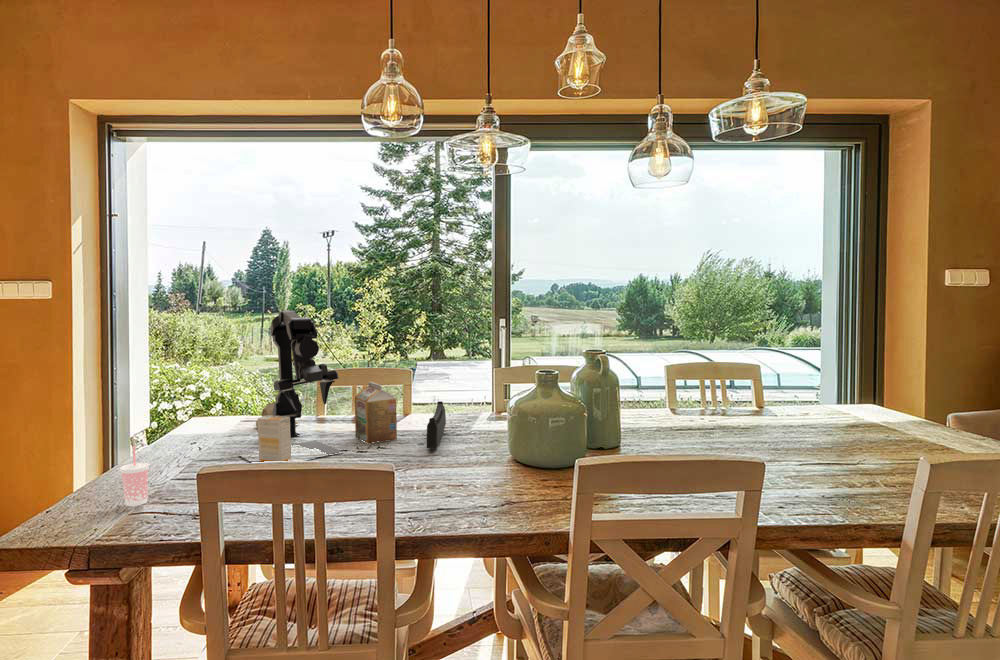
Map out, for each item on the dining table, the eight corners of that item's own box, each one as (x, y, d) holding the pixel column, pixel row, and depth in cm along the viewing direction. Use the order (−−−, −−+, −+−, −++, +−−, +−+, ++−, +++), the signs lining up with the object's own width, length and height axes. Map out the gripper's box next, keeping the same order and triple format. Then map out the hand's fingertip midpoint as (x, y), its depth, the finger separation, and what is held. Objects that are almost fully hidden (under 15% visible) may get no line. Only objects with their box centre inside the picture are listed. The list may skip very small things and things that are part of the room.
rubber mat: (238, 456, 186) (238, 454, 186) (315, 441, 203) (315, 440, 203) (262, 469, 172) (262, 467, 172) (342, 453, 189) (342, 451, 189)
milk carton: (396, 439, 207) (396, 384, 205) (367, 444, 201) (366, 387, 199) (384, 433, 215) (383, 380, 214) (355, 437, 209) (354, 382, 208)
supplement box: (292, 459, 180) (291, 416, 179) (281, 464, 176) (280, 419, 175) (269, 457, 183) (268, 414, 182) (258, 461, 178) (256, 417, 178)
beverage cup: (147, 505, 145) (144, 448, 143) (117, 508, 143) (115, 450, 142) (153, 497, 150) (151, 441, 149) (125, 499, 149) (123, 443, 148)
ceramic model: (289, 421, 234) (288, 396, 233) (302, 426, 226) (301, 400, 225) (252, 427, 225) (251, 400, 224) (264, 432, 216) (263, 405, 216)
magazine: (435, 426, 187) (444, 383, 215) (425, 426, 187) (435, 383, 215) (437, 473, 193) (446, 425, 221) (427, 473, 193) (437, 425, 221)
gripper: (281, 363, 176) (290, 415, 177) (341, 352, 188) (349, 401, 188) (269, 363, 185) (277, 413, 186) (327, 353, 196) (335, 400, 197)
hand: (311, 407), depth 189 cm, fingers open, 9 cm apart
